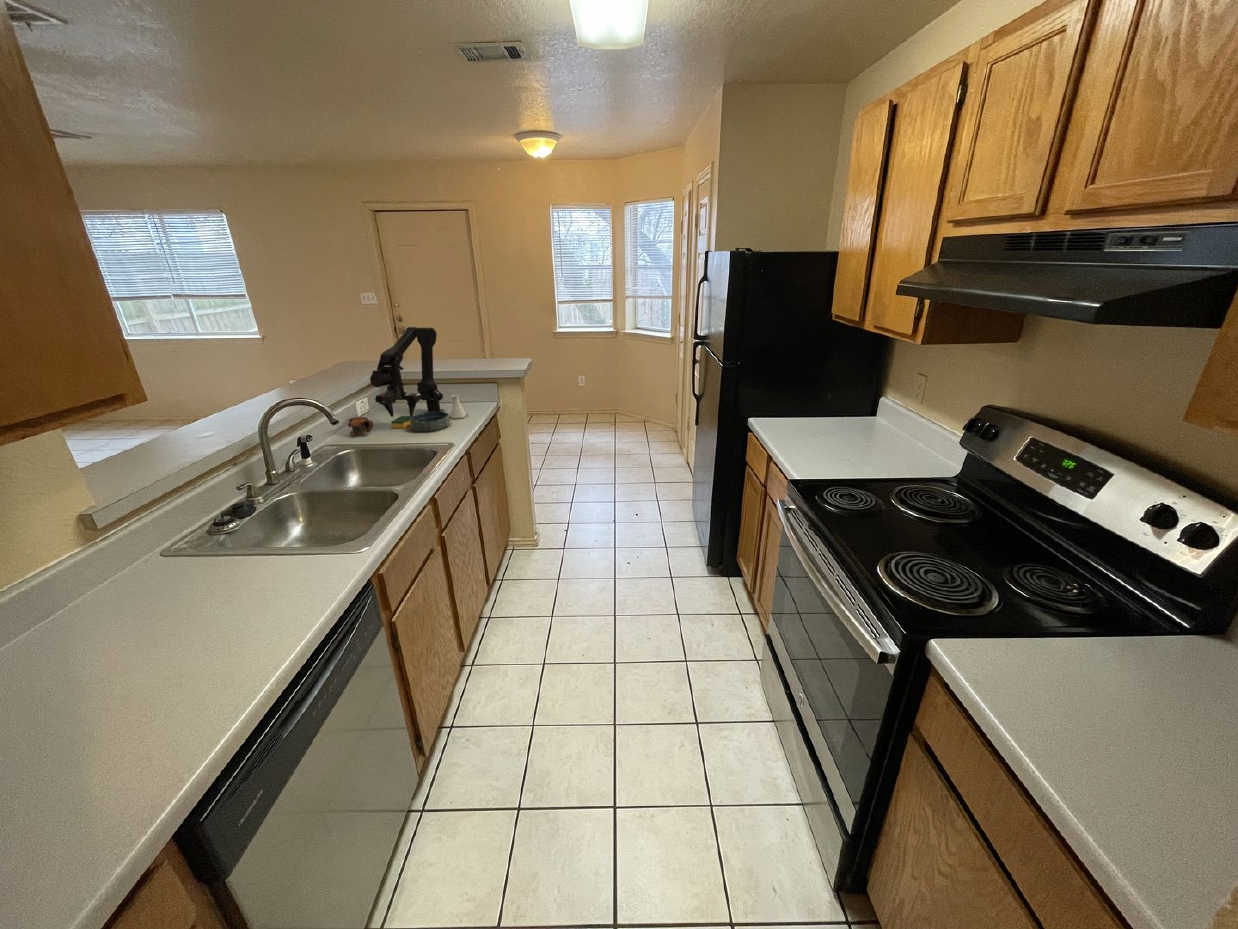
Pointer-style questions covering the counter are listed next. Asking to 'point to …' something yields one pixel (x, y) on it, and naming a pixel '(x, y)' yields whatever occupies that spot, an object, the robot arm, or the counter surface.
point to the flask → (457, 408)
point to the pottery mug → (360, 426)
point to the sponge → (401, 422)
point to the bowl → (430, 421)
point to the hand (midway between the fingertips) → (402, 416)
